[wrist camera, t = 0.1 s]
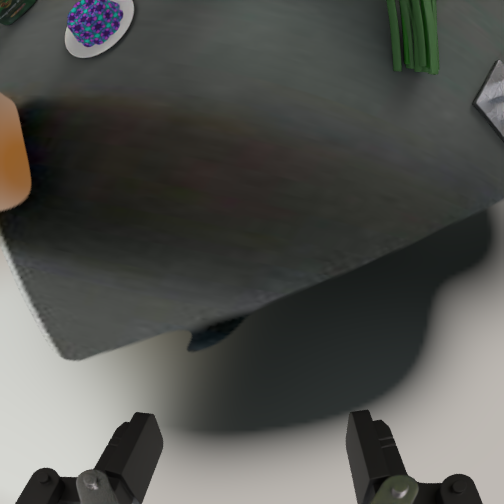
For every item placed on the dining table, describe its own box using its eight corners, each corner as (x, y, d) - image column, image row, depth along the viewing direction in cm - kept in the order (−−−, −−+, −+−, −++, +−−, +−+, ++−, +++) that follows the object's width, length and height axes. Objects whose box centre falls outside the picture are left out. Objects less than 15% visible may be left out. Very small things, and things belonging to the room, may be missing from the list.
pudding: (113, -19, 31) (99, -34, 26) (151, 16, 33) (137, 0, 28) (57, 33, 33) (38, 24, 28) (87, 74, 35) (67, 65, 30)
